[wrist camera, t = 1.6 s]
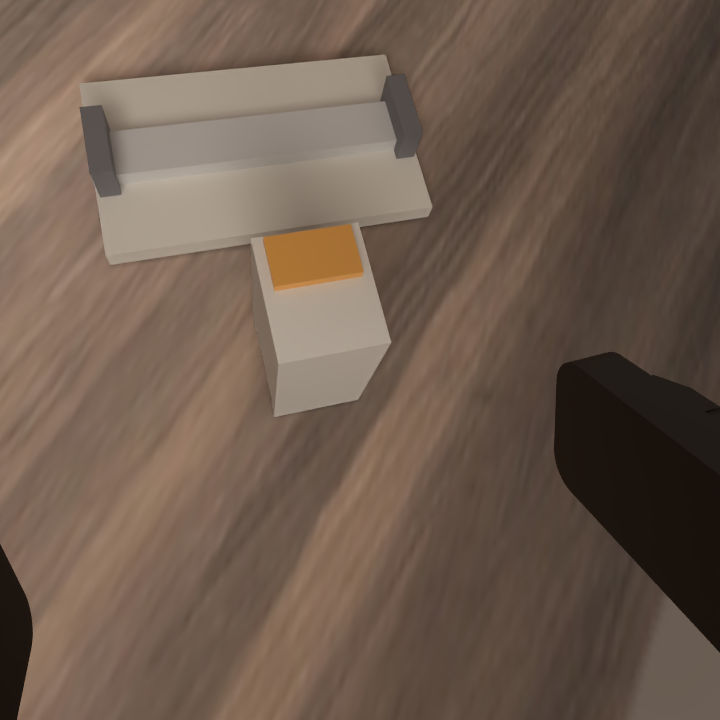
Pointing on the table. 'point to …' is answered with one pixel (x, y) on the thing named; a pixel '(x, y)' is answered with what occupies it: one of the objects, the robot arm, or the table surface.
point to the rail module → (316, 316)
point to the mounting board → (250, 154)
